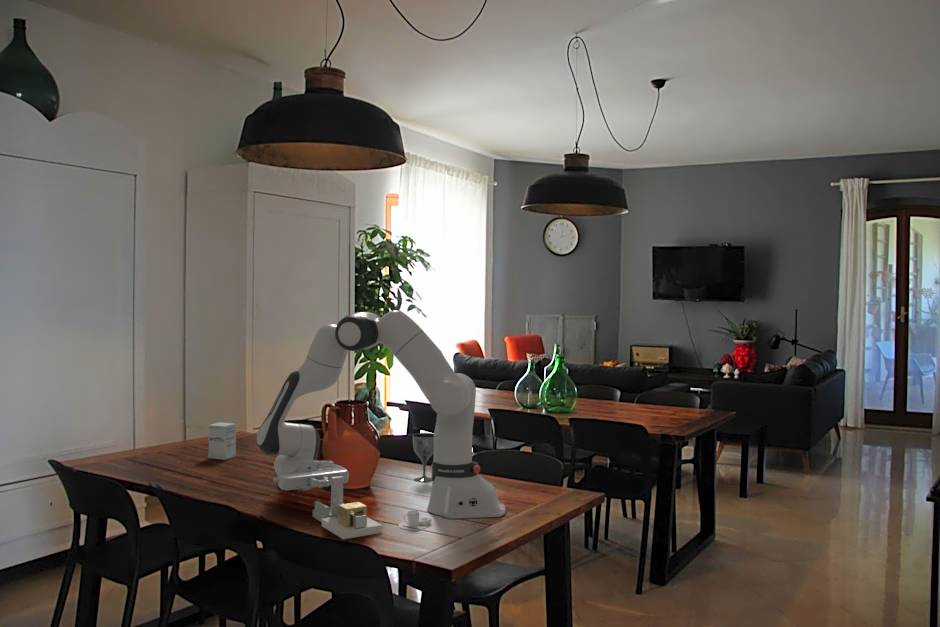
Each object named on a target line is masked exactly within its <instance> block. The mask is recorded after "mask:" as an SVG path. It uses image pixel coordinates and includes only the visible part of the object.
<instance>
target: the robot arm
mask: <svg viewBox="0 0 940 627" xmlns="http://www.w3.org/2000/svg"><path fill="white" fill-rule="evenodd" d="M317 330H318V331H316V334H315V335H314V337H313V339H312V342H311V344H310V346H309V349H308V351H307V355H306V357H305V360H303V363H302V364H301V365H300V367H298V369H297V370H295V371H293V372H290V374H289V375H288V376H287V378H286V379H285V381H284V383H283V385H282V387H281V388H280V390H279V393H278V395H276V396H277V397H276V398H275V400H274V402H273V404H272V406H271V409H270V411H269V412H268V414H267V416H266V417H265V419H264V421H262V423H261V424H260V427H259V429H257V433H256V437H255V441H256V445H257V447H258V448H259V450H260V451H261V452H262V453H263V455H266V456H273V455H274V456H275V455H278V456H276V458H274V459H275V460H274V462H273V468H274V470H275V473H276V475H277V476H276V477H273V478H272V481H273V482H274V483H277V486H278V487H279V488H280V490H282V491H294V490H300V491H310V490H312V489H313V488H328V487H330V486H331V477H338V476H342V477H343V484H348V482H349V477H350V476H349V475H350V473H349V470H348V469H347V468H345V467H343V466H341V465H338V464H335V462H334V461H332V460H317V457H318V453H319V451H320V448H321V446H320V445H321V438H320V435H319V432H318V430H317V429H316V427H314V425H312V424H305V423H304V424H303V423H295V422H294V423H293V422H286V421H285V420H286V418H287V416H288V414H289V412H290V411H291V408H292V407H293V404H294V403H295V401H296V400H297V399H298V398H300V397H302V396H305V395H308V394H310V393H314V392H315V393H316V392H320V391H324V390H326V389H329V388H331V387H332V386H334V385H335V384H336V383H337V381H338V380H339V379H340V378H339V377H340V376H341V373H342V371H343V366H344V365H345V360H346V358H347V355H348V354H349V352H359V351H365V350H369V349H371V348H373V347H376V346H379V345H381V344H382V345H383V346H384V347H386V348H387V349H388V350H389V351H390V352H391V353H392V354H393V356H394V357H395V358H396V359H397V360H398V361H399V363H400V364H401V365H402V366H403V367H404V368H405V370H407V372H408V373H409V375H411V377H412V379H413V380H414V381H415V382H416V384H417V386H418V387H419V390H420V391H421V392H422V394H423V395H424V397H425V398H426V399H427V401H428V402H429V404H430V407H431V408H432V410H433V411H434V412H435V413H436V419H435V420H436V422H435V427H434V432H433V434H434V453H433V460H432V461H431V476H430V478H432V483H431V491H430V492H431V493H430V496H429V502H428V506H427V509H426V510H427V511H428V512H429V513H430V514H433V515H437V516H441V517H444V518H446V519H451V520H455V519H473V518H474V519H475V518H478V519H479V518H499V517H502V516H504V515H505V514H506V506H505V504H504V503H503V502H501V501H499V498H498V492H497V490H496V488H495V487H494V485H493V484H491V483H490V482H489V481H488V480H486V479H485V478H484V477H482V476H481V475H480V474H479V473H480V472H481V466H480V465H479V463H478V462H477V461H474V460H472V459H473V456H472V455H473V428H474V423H475V422H474V421H475V412H476V410H475V408H476V396H477V394H476V393H477V388H476V384H475V382H474V381H473V379H472V378H471V377H469V376H468V375H467V374H465V373H460V372H455V371H454V369H453V368H452V366H451V364H449V362H448V360H447V359H446V357H445V356H444V354H443V351H442V350H441V349H440V348H439V346H437V344H435V342H434V341H433V340H432V339H431V337H429V335H427V333H426V332H425V331H424V330H423V329H422V327H420V326H419V324H417V322H415V321H414V319H413V318H412V317H410V316H408V315H407V314H406V313H404V311H402V310H399V309H398V310H397V309H395V310H394V309H393V310H390V311H388V312H387V313H384V315H383V316H382V315H381V314H379V313H378V312H375V311H359V312H354V313H352V314H348V315H345V316H344V317H343V318H341V319H340V320H339V321H338V323H337V324H335V323H327V324H323V325H321V326H320V327H319V329H317Z"/></svg>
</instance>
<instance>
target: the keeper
mask: <svg viewBox="0 0 940 627" xmlns="http://www.w3.org/2000/svg"><path fill="white" fill-rule="evenodd" d="M352 511H358V512H360V513H362V514H364V515H366V524H367V517H368V505H366V504H364V503H362V502H360V501H356V502H355V501H354V502H348V503H343V504H340V505H338V523H339V524H341V525H343V526H344V527H346V528H348V527H350V512H352Z"/></svg>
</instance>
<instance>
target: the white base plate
mask: <svg viewBox="0 0 940 627" xmlns="http://www.w3.org/2000/svg"><path fill="white" fill-rule="evenodd" d="M321 527H322V528H324V529H325V530H326V531H329V532H330V533H332V534H333V535H335V536H337V537H338V538H340V539H342V540H346V539H353V538H359V537H366V536H370V535H375V534H382V533H383V524H381V523H379V522H377V521H376V520H374V519H371V518H370V517H368V516H367V524H366V526H365V527H360V528H355V527H353V526H352V525H350V527H348V528H346V527H344V526H343V525H341V524H339V523H338V518H337V517H336V516H335V517H329V518H323V519H322V522H321Z"/></svg>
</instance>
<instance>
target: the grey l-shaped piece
mask: <svg viewBox="0 0 940 627" xmlns="http://www.w3.org/2000/svg"><path fill="white" fill-rule="evenodd" d="M340 504H344V483H343V477H342V476H338V477H331V485H330V507H331V514H332V515H334V516H336V517H337V518H338V505H340ZM350 525H352V526H353V527H355V528H360V527H365V526H366V515H364V514H362V513H360V512H358V511H352V512H350Z"/></svg>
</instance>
